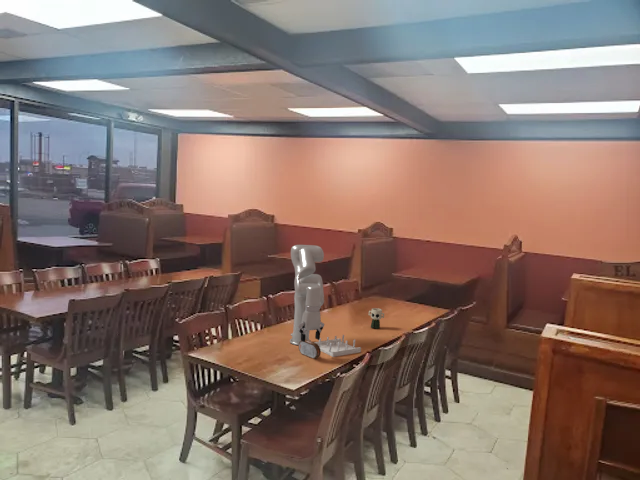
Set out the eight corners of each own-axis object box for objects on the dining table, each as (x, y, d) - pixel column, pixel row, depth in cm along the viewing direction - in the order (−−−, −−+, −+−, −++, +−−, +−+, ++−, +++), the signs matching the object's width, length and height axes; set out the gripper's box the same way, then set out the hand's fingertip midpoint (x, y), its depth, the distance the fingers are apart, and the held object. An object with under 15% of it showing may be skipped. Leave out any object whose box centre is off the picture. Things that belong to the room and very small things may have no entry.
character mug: (365, 327, 349) (367, 309, 348) (369, 325, 356) (370, 307, 354) (381, 330, 345) (383, 311, 344) (384, 328, 352) (386, 309, 350)
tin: (320, 359, 277) (321, 344, 276) (316, 360, 274) (317, 345, 274) (301, 352, 287) (302, 337, 286) (297, 353, 285) (298, 338, 284)
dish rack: (312, 346, 298) (313, 336, 297) (339, 342, 310) (340, 332, 310) (332, 356, 283) (333, 345, 282) (360, 352, 295) (361, 341, 295)
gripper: (320, 306, 286) (318, 336, 287) (295, 308, 276) (293, 340, 277) (329, 309, 280) (327, 340, 281) (303, 311, 270) (301, 343, 271)
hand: (310, 340), depth 279 cm, fingers open, 9 cm apart
